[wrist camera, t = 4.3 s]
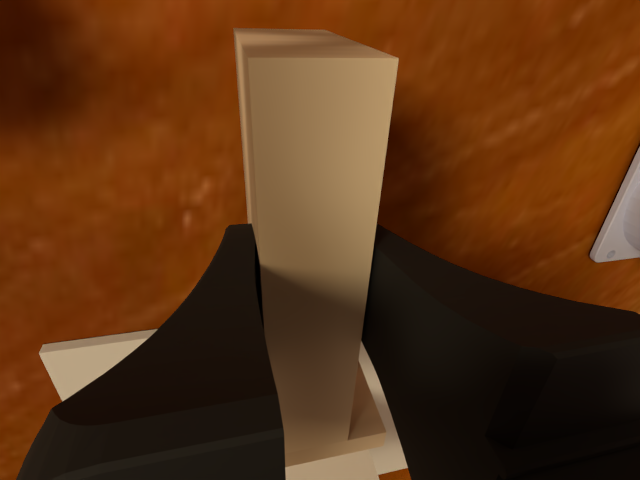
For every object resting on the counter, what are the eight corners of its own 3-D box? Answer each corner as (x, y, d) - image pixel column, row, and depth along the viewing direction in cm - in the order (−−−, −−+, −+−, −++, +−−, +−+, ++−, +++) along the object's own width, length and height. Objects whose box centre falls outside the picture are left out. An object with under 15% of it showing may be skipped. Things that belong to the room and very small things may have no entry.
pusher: (371, 30, 11) (470, 58, 6) (342, 335, 17) (383, 445, 13) (179, 27, 10) (154, 57, 5) (225, 353, 16) (230, 479, 12)
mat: (499, 282, 21) (505, 288, 20) (442, 452, 29) (446, 458, 29) (43, 344, 16) (38, 353, 16) (129, 524, 25) (127, 533, 24)
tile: (345, 382, 21) (404, 551, 15) (343, 400, 22) (398, 569, 16) (215, 405, 20) (216, 605, 13) (218, 424, 21) (220, 621, 14)
